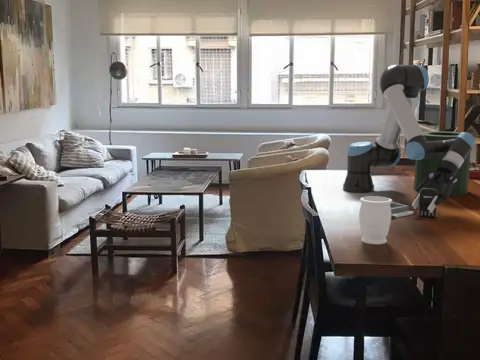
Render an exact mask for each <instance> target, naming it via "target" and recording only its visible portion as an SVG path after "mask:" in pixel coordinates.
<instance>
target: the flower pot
mask: <svg viewBox="0 0 480 360" xmlns="http://www.w3.org/2000/svg"><path fill="white" fill-rule="evenodd" d="M422 132H423V135H424V136H425V138H426V141H442V140H451V139H456V138H457V136H458V135H459V134H460V133H461V132H459V131H441V130H440V131H439V130H438V131H436V130H435V131H430V130H429V131H422ZM470 134H471V135H472V136H473V134H472V133H470ZM471 151H472V150H471ZM471 151H470V153H469V154H468V156H467V157H466V159H465V160H464V162H463V163H462V165H461V166H460V168H459V169H458V171H457V173H456V174H455V177H456V179H457V180H458V182H457V183H456V184H455V185H454V187H453V189H452V191H451V193H450V195H449V197H458V196H459V197H461V196H465V195H467V194H468V193H469V179H470V165H471ZM442 159H443V158H440V159H439V158H435V159H421V160H415V162H414V163H415V166H414V182H413V184H414V185H413V191H415V192H417V191H416V188H417V187H418V185H419V184H420V183H421V182H422V180H423V179H424V178H425V177H426V175H427V173H428V172H430V173H434V172H436V171H437V167H438V165H439V164H440V162H441V161H442ZM434 182H435V181H434ZM448 183H449V182H447V185H448ZM431 189H436V190H437V192H438V193H439V189H440V184H437V185H434V186H433V187H432V188H431Z"/></svg>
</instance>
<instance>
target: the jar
mask: <svg viewBox="0 0 480 360" xmlns="http://www.w3.org/2000/svg"><path fill="white" fill-rule="evenodd" d="M359 202H360V207H359V213H358V215H359V217H358V218H359V226H360V227H359V228H360V232H361V235H362V237H361V242H363V243H364V244H367V245H374V246H375V245H377V246H378V245H385V244H386V243H387V242H388V241H387V236H388V234H389V230H390V226H391V222H392V219H391V207H390V204H391V203H392V202H393V199H392V198H389V197H387V196H378V195H376V196H374V195H373V196H372V195H371V196H370V195H369V196H363V197H360V199H359Z"/></svg>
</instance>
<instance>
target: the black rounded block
mask: <svg viewBox="0 0 480 360" xmlns="http://www.w3.org/2000/svg"><path fill="white" fill-rule="evenodd" d="M437 194H438V192H437V190H436V189H430V188H422V189H421V190H420V195H419V205H418V216H419V217H422V218H424V217H425V218H436V217H437V208H438V207H437V206H436V207H435V209H434V210H433V212H432V213H430V211H429V210H428V209H427V208H428V207H429V205H430V204H431V202H432V201H433V199H434V197H435V196H438V195H437Z"/></svg>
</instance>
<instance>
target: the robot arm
mask: <svg viewBox="0 0 480 360" xmlns="http://www.w3.org/2000/svg"><path fill="white" fill-rule="evenodd" d="M429 80H430V76H429V72H428V71H427V69H426V67H425V66H423V65H419V64H393V65H389V66H388V67H386V68H385V69H384V70H383V72H382V73H381V76H380V80H379V87H380V91H381V94H382V96H383V98H385V99H387V102H388V103H389V105H390V108H389V111H388V114H387V116H386V120H385V121H384V126H383V128H382V131H381V134H380V136H377V137H376V139H375V141H374V143H373V142H371V141H357V142H352V143H350V144H349V145H348V148H347V163H346V164H347V165H346V166H347V170H346V176H345V179H344V183H343V184H342V190H343V189H344V191H345V190H346V191H345V192H349V191H350V192H351V193H360V194H361V193H372V192H374V191H375V185H374V181H373V177H372V169H374V168H389V167H393V166H396V165H397V164H398V163H399V162H400V159H401V156H402V153H401V147H400V143H399V142H398V141H399V138H400V136H401V134H403V136H404V138H405V141H406V142H407V144H406V146H405V148H404V149H405V150H404V151H405V155H406V157H407V158H408V159H409V160H413V161H414V160H415V161H416V160H421V159H435V158H439V159H440V158H443V159H442V161H441V162H440V164H439V165H438V167H437V171H436V172H434V173H430V172H428V173H427V175H426V177H425V178H424V179H423V180H422V182H421V183H420V184H419V185H418V187H417V188H416V191H417V193H416V194H415V195H416V196H415V197H414V200H413V201H412V204H411V206H412V207H413V209H415V210H416V209H417V208H419V195H420V190H421V189H422V188H430V189H431V188H432V187H433V186H434V185H437V184H440V189H439V193H438V194H437V195H438V196H435V197H434V199H433V201H432V202H431V204H430V205H429V207H428V208H427V209H428V210H429V211H430V213H432V212H433V210H434V209H435V207H436V206H439V205H440V203H441V202H442V201H443V200H448V199H449V198H450V196H449V195H450V193H451V191H452V189H453V187H454V185H455V184H456V183H457V182H458V180H457V179H456V177H455V174H456V173H457V171H458V169H459V168H460V166H461V165H462V163H463V162H464V160H465V159H466V157H467V156H468V154H469V153H470V151H472V150H473V148H474V147H475V144H476V139H475V137H474V136H473V134H472V133H469V132H465V131H463V132H460V134H459V135H458V136H457V138H456V139H451V140H442V141H426V138H425V136H424V135H423V132H424V131H422V127H420V124H419V122H418V120H417V118H416V116H415V113H414V111H413V109H412V107H411V105H412V103H413V101H414V100H415V99H417V98H418V97H419V94H420V92H422V91H424V90H426V89H427V88H428V86H429V82H430V81H429ZM471 134H472V135H471ZM434 181H435V182H434ZM447 182H449V183H448V185H447ZM416 191H415V192H416Z"/></svg>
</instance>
